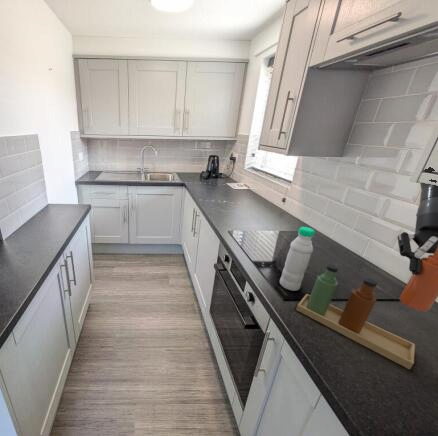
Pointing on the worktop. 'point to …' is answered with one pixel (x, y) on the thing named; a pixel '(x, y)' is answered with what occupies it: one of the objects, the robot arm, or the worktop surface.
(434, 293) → the terracotta bottle
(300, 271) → the water bottle
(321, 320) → the tray
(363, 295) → the amber bottle
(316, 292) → the sage bottle
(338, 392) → the worktop surface
